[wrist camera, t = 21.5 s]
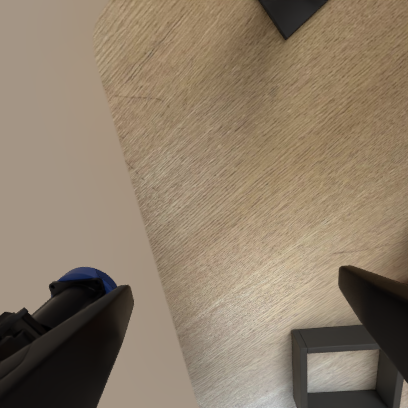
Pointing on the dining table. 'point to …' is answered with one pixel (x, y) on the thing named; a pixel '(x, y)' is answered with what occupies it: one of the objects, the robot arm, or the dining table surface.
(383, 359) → the grey picture frame
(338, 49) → the dining table surface
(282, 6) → the rubber mat
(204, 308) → the dining table surface
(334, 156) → the dining table surface
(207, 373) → the dining table surface
